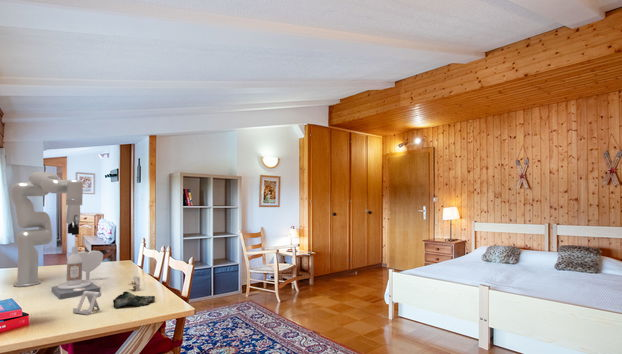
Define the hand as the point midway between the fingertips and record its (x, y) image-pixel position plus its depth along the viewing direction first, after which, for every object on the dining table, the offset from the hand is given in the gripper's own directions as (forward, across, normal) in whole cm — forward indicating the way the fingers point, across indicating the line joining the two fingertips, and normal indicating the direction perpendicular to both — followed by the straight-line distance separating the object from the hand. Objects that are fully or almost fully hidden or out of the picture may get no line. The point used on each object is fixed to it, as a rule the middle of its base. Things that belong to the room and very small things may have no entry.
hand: (73, 234), depth 201 cm
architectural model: (+31, +24, +25) cm, 46 cm away
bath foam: (+27, +2, +1) cm, 27 cm away
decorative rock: (+30, +50, +16) cm, 61 cm away
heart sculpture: (+31, -19, +12) cm, 38 cm away
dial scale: (+31, +5, +1) cm, 31 cm away
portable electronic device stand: (+30, +49, -3) cm, 57 cm away
